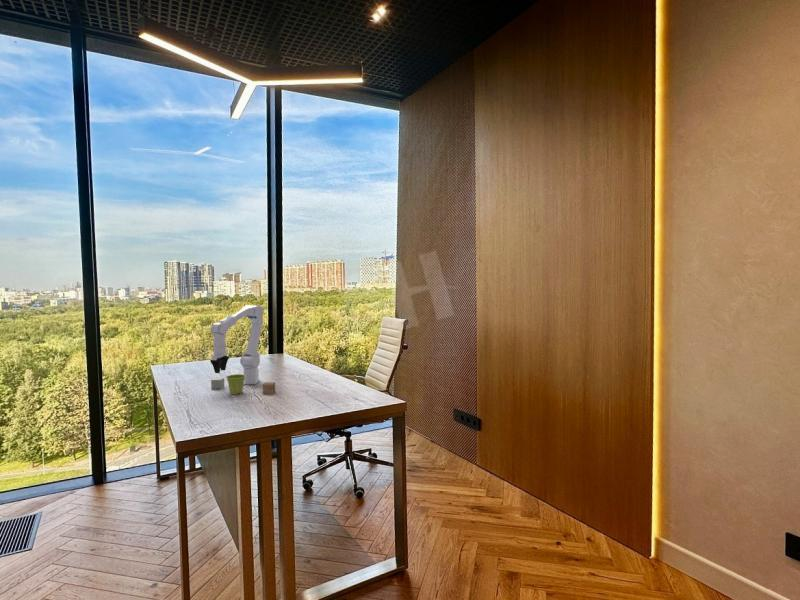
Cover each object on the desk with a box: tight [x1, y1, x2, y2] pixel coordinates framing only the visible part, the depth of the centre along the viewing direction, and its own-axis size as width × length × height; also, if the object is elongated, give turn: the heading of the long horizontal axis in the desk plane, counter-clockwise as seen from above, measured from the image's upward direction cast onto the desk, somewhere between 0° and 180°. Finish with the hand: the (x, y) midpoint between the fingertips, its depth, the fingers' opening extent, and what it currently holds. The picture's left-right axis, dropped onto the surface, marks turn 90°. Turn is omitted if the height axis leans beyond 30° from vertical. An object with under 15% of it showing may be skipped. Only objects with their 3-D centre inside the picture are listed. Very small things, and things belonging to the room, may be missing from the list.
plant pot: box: [225, 373, 245, 395], centre depth 235 cm, size 9×9×9 cm
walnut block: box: [262, 381, 276, 394], centre depth 235 cm, size 5×5×5 cm
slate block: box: [210, 377, 225, 390], centre depth 246 cm, size 5×5×5 cm
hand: (220, 371), depth 238 cm, fingers open, 7 cm apart
